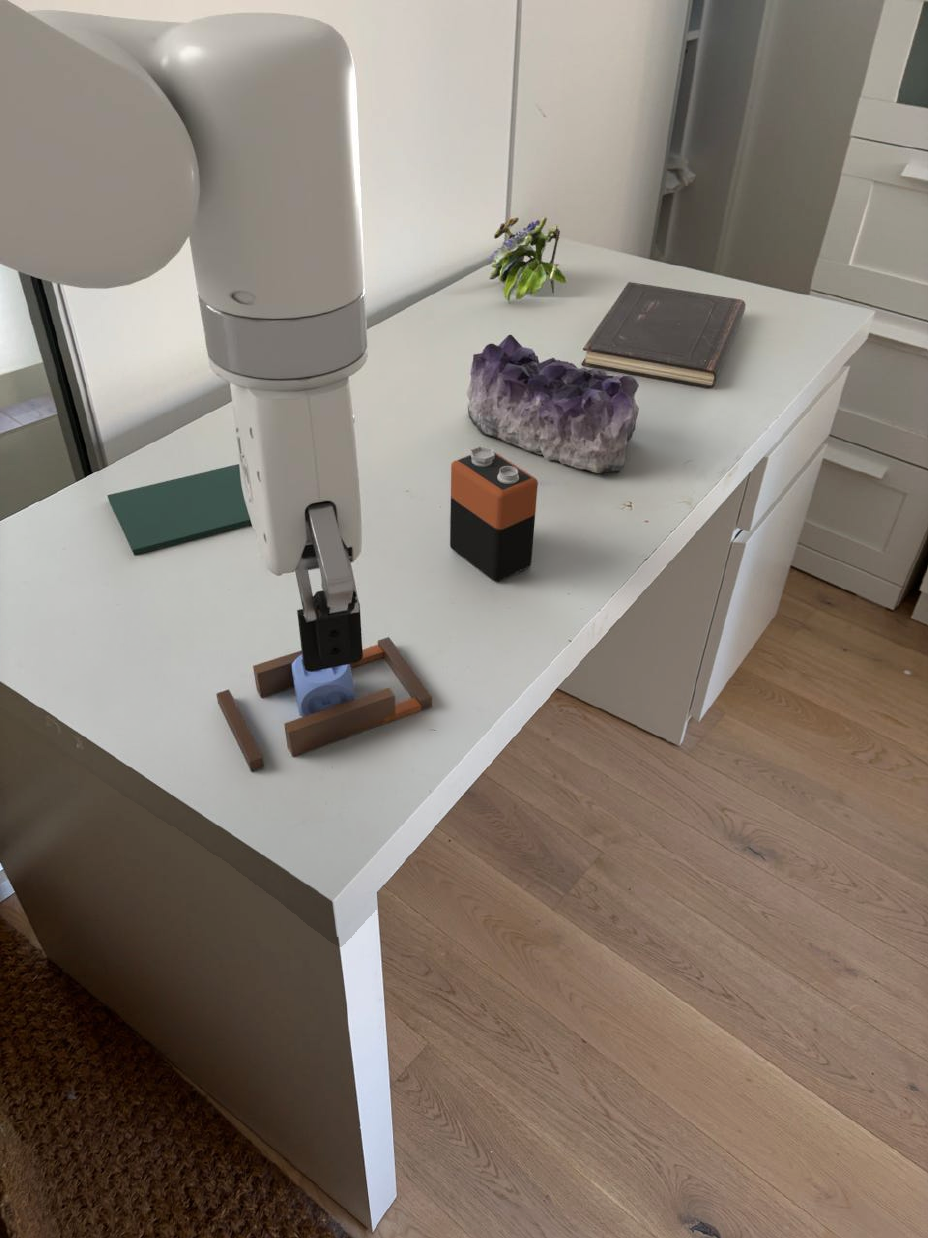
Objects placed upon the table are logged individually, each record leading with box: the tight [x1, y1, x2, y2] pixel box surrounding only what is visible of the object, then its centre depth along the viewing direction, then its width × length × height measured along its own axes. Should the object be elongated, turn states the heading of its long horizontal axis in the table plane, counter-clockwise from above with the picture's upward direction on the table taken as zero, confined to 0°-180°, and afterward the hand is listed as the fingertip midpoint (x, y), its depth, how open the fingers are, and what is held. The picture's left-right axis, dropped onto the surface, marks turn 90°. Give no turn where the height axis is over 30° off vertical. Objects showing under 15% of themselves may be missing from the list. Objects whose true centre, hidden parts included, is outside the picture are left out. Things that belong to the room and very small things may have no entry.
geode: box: [466, 334, 640, 474], centre depth 100 cm, size 20×12×10 cm, turn 58°
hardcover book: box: [580, 281, 746, 389], centre depth 122 cm, size 16×23×2 cm
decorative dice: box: [292, 654, 356, 718], centre depth 70 cm, size 4×4×4 cm
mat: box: [107, 463, 252, 556], centre depth 92 cm, size 16×10×1 cm, turn 118°
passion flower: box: [488, 216, 567, 304], centre depth 133 cm, size 11×11×12 cm
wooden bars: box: [215, 636, 433, 772], centre depth 71 cm, size 14×8×2 cm, turn 118°
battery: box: [449, 445, 539, 583], centre depth 83 cm, size 4×7×10 cm, turn 39°
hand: (314, 609), depth 56 cm, fingers open, 9 cm apart
